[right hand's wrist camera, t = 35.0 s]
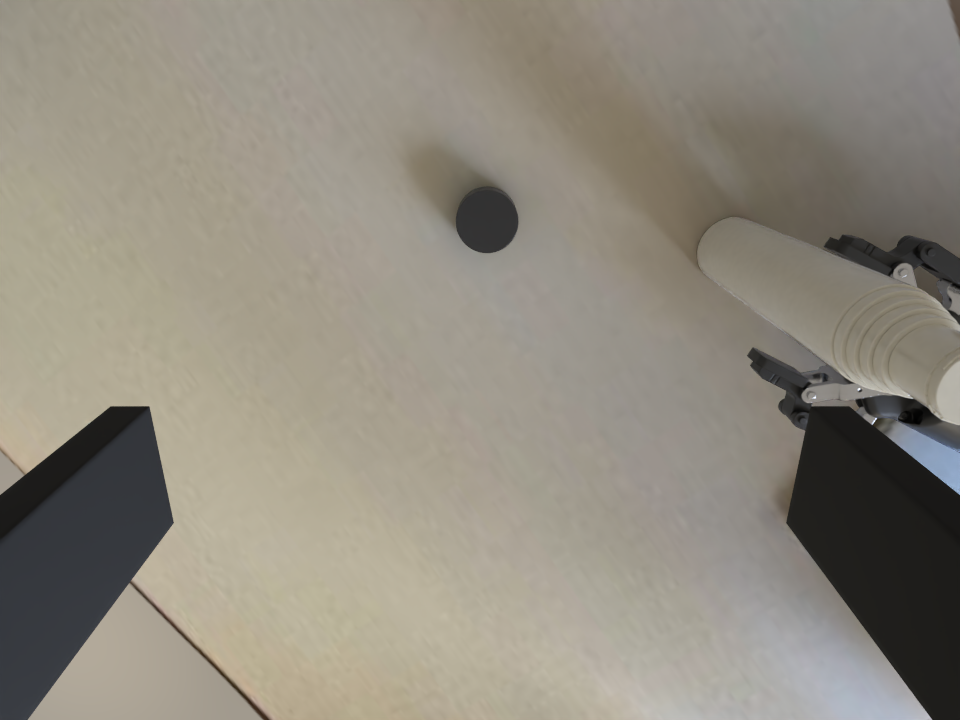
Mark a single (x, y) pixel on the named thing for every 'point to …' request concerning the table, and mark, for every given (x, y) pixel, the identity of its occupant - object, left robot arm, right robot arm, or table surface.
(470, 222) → the cap
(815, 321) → the bottle
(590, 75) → the table surface
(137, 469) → the right robot arm
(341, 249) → the table surface
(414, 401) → the table surface
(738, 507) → the table surface
